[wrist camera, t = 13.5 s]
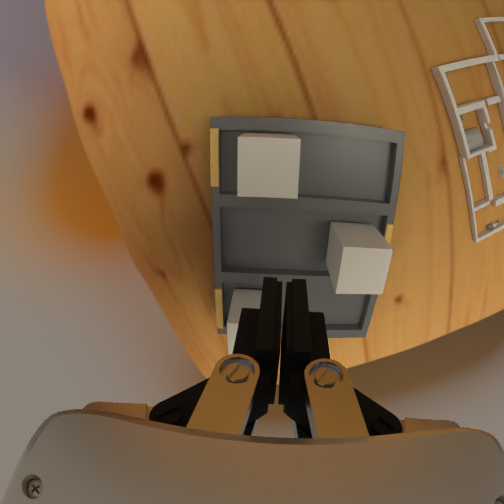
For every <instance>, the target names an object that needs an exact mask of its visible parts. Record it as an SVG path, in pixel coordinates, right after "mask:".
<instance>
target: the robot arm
mask: <svg viewBox="0 0 504 504" xmlns="http://www.w3.org/2000/svg"><path fill="white" fill-rule="evenodd" d="M281 315H282V281H277V278H276V277H264V279H263V287H262V295H261V303H260V309H255V308H242V310H241V314H240V319H239V324H238V329H237V334H236V338H235V343H234V348H233V353H232V354H231V355H227V356H225V357H223V358H222V359H220V360H219V361H218V362H217V364H216V365H215V367H214V369H213V371H212V374H211V376H210V378H208V379H206V380H204V381H202V382H200V383H198V384H196V385H194V386H192V387H190V388H188V389H186V390H184V391H182V392H180V393H179V394H176V395H174V396H172V397H170V398H168V399H166V400H164V401H162V402H160V403H158V404H157V405H155V406H154V407H148V406H147V404H135V403H134V404H133V403H113V402H92V403H90V404H88V405H86V406H85V407H84V408H83V409H73V410H66V411H60V412H57V413H55V414H52V415H51V416H49V417H48V418H47V419H46V420H45V421H44V422H43V423H42V424H41V425H40V427H39V428H38V429H37V431H36V432H35V434H34V435H33V437H32V438H31V440H30V441H29V443H28V445H27V447H26V449H25V450H24V452H23V454H22V456H21V458H20V460H19V462H18V464H17V466H16V468H15V471H14V473H13V475H12V478H11V480H10V482H9V485H8V487H7V489H6V492H5V494H4V497H3V500H2V502H1V504H504V450H503V449H502V447H501V445H500V443H499V442H498V440H497V439H496V438H495V437H494V436H493V435H491V434H490V433H487V432H485V431H482V430H478V429H471V428H464V427H460V426H459V425H458V424H457V423H455V422H453V421H449V420H431V419H417V418H405V419H404V420H399V419H398V418H397V417H396V416H395V415H394V414H392V413H391V412H389V411H388V410H386V409H385V408H383V407H382V406H380V405H379V404H377V403H376V402H374V401H372V400H371V399H370V398H368V397H367V396H365V395H364V394H362V393H361V392H359V391H358V390H357V389H355V388H354V387H353V386H352V383H351V380H350V378H349V375H348V372H347V370H346V368H345V367H344V366H343V365H342V364H341V363H339V362H337V361H335V360H332V359H330V354H329V346H328V338H327V331H326V324H325V317H324V313H323V312H309V306H308V296H307V285H306V279H293V278H292V282H287V283H286V294H285V305H284V315H283V325H282V336H281ZM280 344H281V359H280V382H279V404H283V405H284V413H285V414H286V415H288V416H289V417H290V418H291V419H292V420H293V429H294V435H295V438H276V437H275V438H274V437H260V436H259V437H258V436H253V434H254V431H255V427H256V424H257V419H259V418H260V417H262V416H263V415H265V414H266V413H267V411H268V404H274V398H275V391H276V383H277V374H278V366H279V357H280Z"/></svg>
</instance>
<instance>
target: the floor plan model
mask: <svg viewBox="0 0 504 504" xmlns="http://www.w3.org/2000/svg"><path fill="white" fill-rule="evenodd" d="M474 22H475V25H476V27H477V29H478V31H479V33H480V35H481V38H482V40H483V42H484V45H485V47H486V49H487V52H488V54H489V55H488V56H482V57H477V58H472V59H467V60H463V61H458V62H454V63H449V64H445V65H441V66H437V67H433V68H431V70H432V73H433V75H434V77H435V79H436V82H437V84H438V87H439V89H440V92H441V95H442V98H443V100H444V103H445V106H446V109H447V112H448V115H449V118H450V122H451V125H452V128H453V132H454V135H455V139H456V142H457V146H458V150H459V154H460V157H458V158H459V162H460V166H461V171H462V175H463V180H464V185H465V190H466V196H467V201H468V207H469V214H470V221H471V229H472V237H473V241H475V242H476V243H478V242H479V241H481V240H483V239H485V238H487V237H488V236H490V235H492V234H494V233H496V232H498V231H500V230H502V229H503V228H504V221H502V222H500V221H496V222H492V223H491V224H488V225H486V229H487V230H485V231H483V232H481V233H479V234H477V227H476V219H475V211H477V210H479V209H481V208H483V207H485V206H487V205H489V204H490V200H492V205H494V206H496V207H497V206H499V205H501V204H503V203H504V193H502V194H500V195H498V196H496V197H494V198H493V193H492V186H491V180H490V174H489V169H488V163H487V158H486V154H485V152H491V151H493V150H496V149H497V147H496V143H495V139H494V134H493V130H492V128H488V126H487V123H490V118H489V114H488V111H487V107H486V105H492V104H495V103H498V106H499V110H500V114H501V118H502V123H503V127H504V87H503V84H502V81H501V78H500V75H499V72H498V69H497V67H496V64H495V61H499V60H504V54H498V53H497V51H496V48H495V46H494V43H493V41H492V39H491V36H490V34H489V32H488V30H487V28H486V25H485V23H491V22H504V17H487V18H477V19H474ZM482 63H485V64H486V67H487V70H488V73H489V76H490V79H491V82H492V85H493V89H494V92H495V95H494V96H490V97H487V98H484V99H482V100H474V101H471V102H467V103H464V104H461V105H458V106H457V105H456V102H455V99H454V96H453V94H452V91H451V88H450V85H449V83H448V80H447V77H446V75H445V72H448V71H452V70H456V69H460V68H464V67H468V66H473V65H477V64H482ZM473 110H476V112H477V116H478V119H479V123H480V126H481V130H482V134H483V137H482V134H481V132H480V131H479V130H478V129H477V128H476V127H473V128H471V129H468V130H465V131H464V128H463V125H462V120H463V119H462V116H461V114H464V113H467V112H470V111H473ZM483 138H484V142H485V143H484V144H483ZM477 155H478V159H479V164H480V169H481V174H482V180H483V186H484V192H485V199H483V200H481V201H479V202H477V203H475V204H474V203H473V197H472V191H471V186H470V181H469V176H468V171H467V166H466V162H465V158H466V159H470V158H472V157H475V156H477ZM499 171H500V177H501V178H503V177H504V172H503V166H502V165H501V166H499Z"/></svg>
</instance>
